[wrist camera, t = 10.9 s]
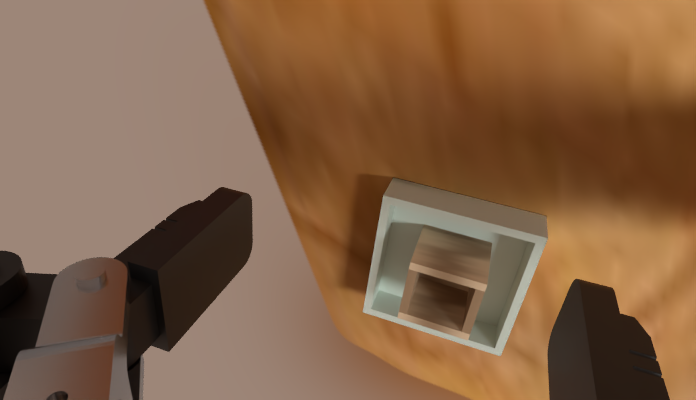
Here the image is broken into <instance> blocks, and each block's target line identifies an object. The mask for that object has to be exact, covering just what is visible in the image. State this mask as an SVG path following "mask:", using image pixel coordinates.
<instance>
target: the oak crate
mask: <svg viewBox="0 0 696 400" xmlns="http://www.w3.org/2000/svg"><path fill="white" fill-rule="evenodd" d="M491 249H492V243H491V242H488V241H484V240H480V239H477V238H473V237H469V236H466V235H462V234H459V233H455V232H451V231H448V230H444V229H440V228H437V227H433V226H429V225H426V224H424V226H423V229H422V231H421V234H420V237H419V240H418V242H417V245H416V248H415V251H414V253H413V256H412V259H411V262H410V266H409V270H408V274H407V279H406V283H405V287H404V291H403V296H402V300H401V304H400V309H399V313H398V317H397V318H399V319H402V320H406V321H409V322H412V323H415V324H418V325H421V326H424V327H427V328H430V329H433V330H437V331H440V332H443V333H446V334H449V335H452V336H455V337H458V338H461V339H465V340H468V339H469V336H470V333H471V330H472V327H473V325H474V322H475V319H476V316H477V313H478V310H479V307H480V305H481V302H482V299H483V296H484V293H485V290H486V287H487V284H488V275H489V267H490V258H491Z"/></svg>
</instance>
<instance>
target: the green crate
mask: <svg viewBox="0 0 696 400" xmlns="http://www.w3.org/2000/svg"><path fill="white" fill-rule="evenodd" d="M424 224H426V225H429V226H433V227H437V228H440V229H444V230H448V231H451V232H455V233H459V234H462V235H466V236H469V237H473V238H477V239H480V240H484V241H488V242H491V243H492V249H491V258H490V267H489V275H488V284H487V287H486V290H485V293H484V296H483V299H482V302H481V305H480V307H479V310H478V313H477V316H476V319H475V322H474V325H473V327H472V330H471V333H470V336H469V339H468V340H465V339H461V338H458V337H455V336H452V335H449V334H446V333H443V332H440V331H437V330H433V329H430V328H427V327H424V326H421V325H418V324H415V323H412V322H409V321H406V320H402V319H399V318H397V317H398V313H399V309H400V304H401V300H402V296H403V291H404V287H405V283H406V279H407V274H408V270H409V266H410V262H411V259H412V256H413V253H414V251H415V248H416V245H417V242H418V240H419V237H420V234H421V231H422V229H423V226H424ZM547 239H548V232H547V218H546V216H544V215H540V214H536V213H532V212H528V211H524V210H521V209H517V208H513V207H509V206H505V205H501V204H497V203H493V202H489V201H485V200H481V199H477V198H473V197H469V196H465V195H461V194H457V193H453V192H449V191H445V190H441V189H437V188H433V187H429V186H425V185H421V184H417V183H413V182H410V181H406V180H402V179H398V178H394V177H393V179H392V181H391V182H390V184H389V186H388V188H387V190H386V191H385V193H384V195H383V200H382V205H381V211H380V217H379V223H378V228H377V234H376V240H375V245H374V251H373V257H372V263H371V268H370V274H369V280H368V286H367V291H366V297H365V303H364V308H363V312H364V313H367V314H370V315H373V316H376V317H380V318H383V319H386V320H389V321H392V322H395V323H398V324H401V325H405V326H408V327H411V328H414V329H417V330H420V331H423V332H426V333H429V334H433V335H436V336H439V337H442V338H445V339H448V340H451V341H454V342H458V343H461V344H464V345H467V346H470V347H473V348H476V349H479V350H483V351H486V352H489V353H492V354H495V355H498V356H501V354H502V352H503V349H504V347H505V344H506V342H507V339H508V337H509V334H510V332H511V329H512V327H513V324H514V322H515V319H516V317H517V314H518V312H519V309H520V307H521V304H522V302H523V299H524V297H525V294H526V292H527V289H528V287H529V284H530V282H531V279H532V277H533V274H534V272H535V269H536V267H537V264H538V262H539V259H540V257H541V254H542V252H543V249H544V247H545V244H546V242H547Z"/></svg>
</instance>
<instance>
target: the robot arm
mask: <svg viewBox="0 0 696 400" xmlns="http://www.w3.org/2000/svg"><path fill="white" fill-rule="evenodd" d="M252 240H253V239H252V199H251V196H250V195H249V194H247V193H243V192H240V191H236V190H232V189H228V188H224V187H221V188H219V189H217V190H216V191H215V192H214V193H212V194H211V195H210V196H208V197H207V198H206V199H205V200H203V201H200V200H198V201H195V202H193V203H190V204H188V205H185V206H183V207H180V208H179V209H177V210H176V211H175V212H173V213H172V214H171V215H170V216H168V217H167V218H166V221H165V220H163V221H162V222H161V223H159V224H158V225H157V226H156V227H155V229H151V230H150V231H149V232H147V233H146V234H145V235H144V236H142V237H141V238H140V239H138V240H137V241H136V242H134V243H133V244H132V245H130V246H129V247H128V248H127V249H125V250H124V251H123V252H121V253H120V254H119V255H118V256H116V257H115V258H114V259H113V258H106V257H97V258H90V259H85V260H82V261H79V262H76V263H74V264H72V265H70V266H68V267H66V268H65V269H63V270H62V271H61V272H60V273H59V274H58V275H57V274H38V273H25V270H24V267H23V264H22V261H21V258H20V257H19V256H18V255H16V254H15V253H12V252H8V251H0V400H143V378H144V359H143V353H144V352H145V351H146V350H147V349H148V348H149V347H150V346H154V347H157V348H160V349H163V350H165V351H170V350H171V349H172V348H173V347H174V346H175V344H176V343H177V342H178V341H179V340H180V339H181V338H182V336H183V335H184V334H185V333H186V332H187V331H188V330H189V328H190V327H191V326H192V325H193V324H194V323H195V322H196V320H197V319H198V318H199V317H200V316H201V314H202V313H203V312H204V311H205V310H206V309H207V308H208V306H209V305H210V304H211V303H212V302H213V301H214V300H215V299H216V297H217V296H218V295H219V294H220V293H221V292H222V291H223V289H224V288H225V287H226V286H227V285H228V284H229V283H230V281H231V280H232V279H233V278H234V277H235V276H236V275H237V273H238V272H239V271H240V270H241V269H242V268H243V267H244V265H245V264H246V262H247V261H248V258H249V256H250V253H251V250H252V242H253V241H252ZM656 358H657V357H656V353H655V350H654V347H653V344H652V340H651V337H650V336H649V335H648V334H647V332H646V331H645V330H644V329H643V327H642V326H641V325H640V324H639V322H638V321H637V320H636V319H635V317H631V316H627V315H623V314H620V312H619V308H618V304H617V299H616V295H615V292H614V289H613V288H611V287H607V286H603V285H599V284H595V283H591V282H587V281H583V280H579V279H575V280H574V281H573V283H572V284H571V286H570V289H569V291H568V293H567V296H566V298H565V301H564V303H563V305H562V308H561V310H560V312H559V315H558V317H557V320H556V322H555V324H554V327H553V329H552V332H551V336H550V340H549V346H548V373H549V395H550V400H670V399H669V396H668V392H667V389H666V386H665V383H664V379H663V378H661V375H662V373H661V370H660V366H659V363H658V361H656Z"/></svg>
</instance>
